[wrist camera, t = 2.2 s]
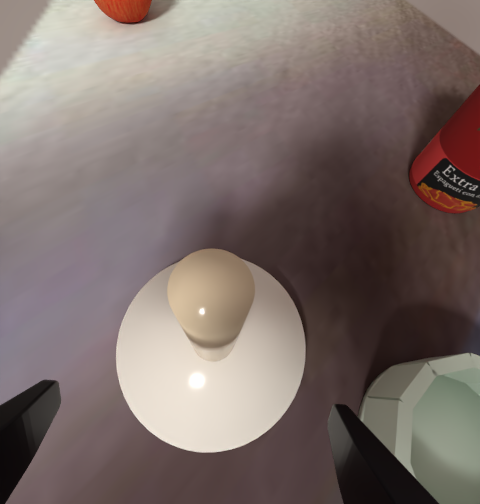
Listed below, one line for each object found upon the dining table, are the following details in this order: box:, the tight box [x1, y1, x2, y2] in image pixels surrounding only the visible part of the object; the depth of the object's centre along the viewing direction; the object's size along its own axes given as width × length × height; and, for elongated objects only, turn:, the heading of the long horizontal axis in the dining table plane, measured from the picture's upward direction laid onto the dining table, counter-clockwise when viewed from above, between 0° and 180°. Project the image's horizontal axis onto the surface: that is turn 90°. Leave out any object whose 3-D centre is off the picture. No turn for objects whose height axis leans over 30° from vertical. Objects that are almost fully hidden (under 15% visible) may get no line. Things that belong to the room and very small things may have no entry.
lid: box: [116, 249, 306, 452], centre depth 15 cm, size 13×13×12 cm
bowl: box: [358, 353, 480, 504], centre depth 16 cm, size 11×11×4 cm
